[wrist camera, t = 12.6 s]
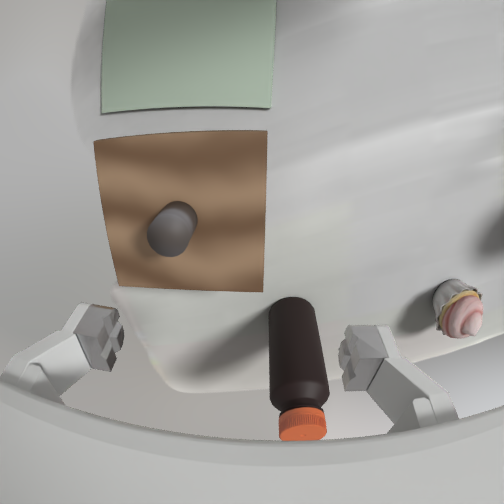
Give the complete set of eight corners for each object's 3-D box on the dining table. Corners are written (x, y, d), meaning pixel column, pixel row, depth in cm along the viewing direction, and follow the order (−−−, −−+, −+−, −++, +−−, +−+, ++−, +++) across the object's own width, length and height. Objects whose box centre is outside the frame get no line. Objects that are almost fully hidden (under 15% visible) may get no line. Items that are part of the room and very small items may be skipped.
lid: (98, 139, 25) (70, 150, 21) (267, 130, 25) (268, 137, 21) (122, 280, 33) (105, 307, 29) (262, 286, 33) (262, 317, 28)
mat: (112, -29, 22) (111, -30, 21) (278, -45, 21) (278, -46, 21) (103, 112, 31) (101, 113, 31) (270, 107, 31) (271, 108, 31)
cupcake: (420, 322, 45) (443, 364, 36) (427, 277, 41) (456, 319, 32) (464, 309, 44) (489, 347, 35) (473, 265, 40) (505, 301, 31)
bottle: (263, 326, 46) (262, 445, 28) (275, 291, 43) (280, 417, 25) (306, 333, 46) (321, 448, 29) (320, 300, 43) (346, 421, 26)
